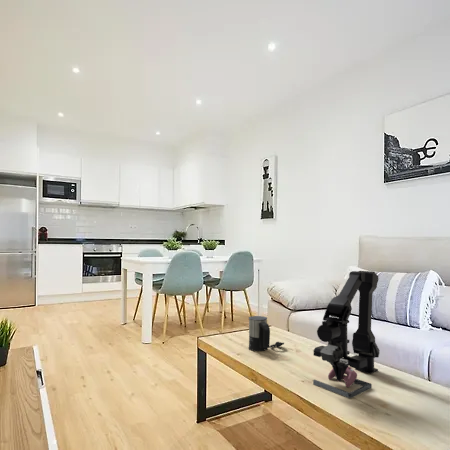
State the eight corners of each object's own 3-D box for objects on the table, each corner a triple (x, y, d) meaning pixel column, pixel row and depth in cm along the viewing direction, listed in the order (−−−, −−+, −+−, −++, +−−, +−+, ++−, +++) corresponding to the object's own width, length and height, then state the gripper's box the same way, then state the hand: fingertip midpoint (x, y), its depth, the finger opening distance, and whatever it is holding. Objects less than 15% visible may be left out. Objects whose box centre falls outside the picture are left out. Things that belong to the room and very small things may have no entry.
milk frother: (244, 348, 168) (244, 317, 169) (266, 342, 178) (266, 313, 179) (266, 355, 157) (266, 322, 158) (288, 348, 168) (288, 317, 169)
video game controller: (354, 390, 124) (360, 371, 126) (346, 387, 122) (352, 367, 124) (334, 381, 133) (339, 363, 134) (326, 377, 131) (332, 359, 133)
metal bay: (335, 375, 134) (335, 371, 134) (371, 388, 122) (371, 383, 123) (313, 384, 125) (313, 380, 125) (350, 398, 114) (350, 393, 114)
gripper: (304, 334, 128) (304, 378, 127) (350, 346, 113) (350, 395, 113) (322, 330, 135) (322, 371, 134) (367, 341, 120) (368, 387, 119)
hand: (339, 380), depth 125 cm, fingers closed
